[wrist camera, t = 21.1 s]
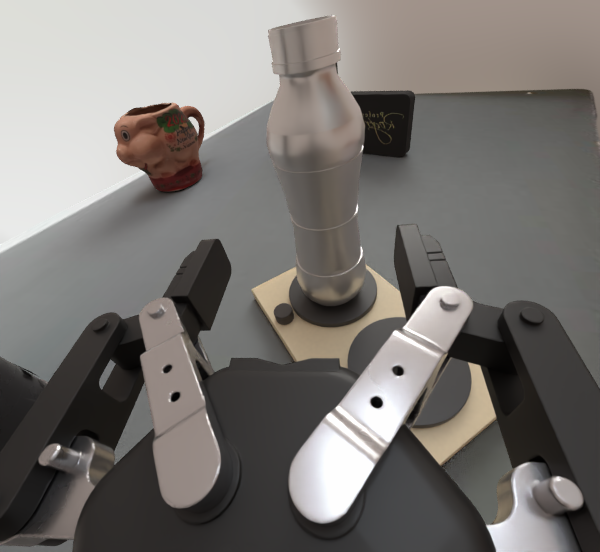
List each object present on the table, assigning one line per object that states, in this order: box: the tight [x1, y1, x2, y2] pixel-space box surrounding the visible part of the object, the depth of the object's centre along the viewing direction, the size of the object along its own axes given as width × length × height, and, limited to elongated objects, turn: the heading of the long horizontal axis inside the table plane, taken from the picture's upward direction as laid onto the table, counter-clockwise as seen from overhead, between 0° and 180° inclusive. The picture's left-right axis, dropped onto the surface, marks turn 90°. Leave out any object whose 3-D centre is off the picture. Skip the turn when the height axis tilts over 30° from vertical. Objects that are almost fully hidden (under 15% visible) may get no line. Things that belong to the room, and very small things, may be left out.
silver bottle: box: [267, 15, 366, 306], centre depth 21 cm, size 6×7×20 cm
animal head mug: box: [114, 103, 204, 192], centre depth 56 cm, size 20×12×14 cm, turn 153°
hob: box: [252, 264, 497, 466], centre depth 25 cm, size 12×22×3 cm, turn 30°
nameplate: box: [351, 91, 415, 157], centre depth 53 cm, size 21×2×10 cm, turn 53°
